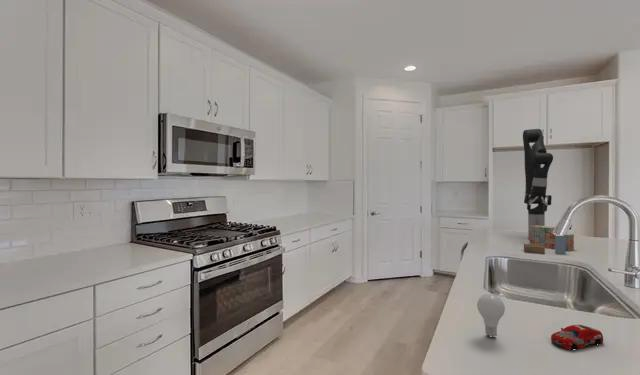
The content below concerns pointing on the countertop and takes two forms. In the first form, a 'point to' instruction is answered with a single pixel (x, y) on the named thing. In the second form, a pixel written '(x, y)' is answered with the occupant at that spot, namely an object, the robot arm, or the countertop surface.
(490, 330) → the lightbulb
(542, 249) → the base block
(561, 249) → the pillar block
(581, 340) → the race car
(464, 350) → the countertop surface
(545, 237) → the stack of blocks
